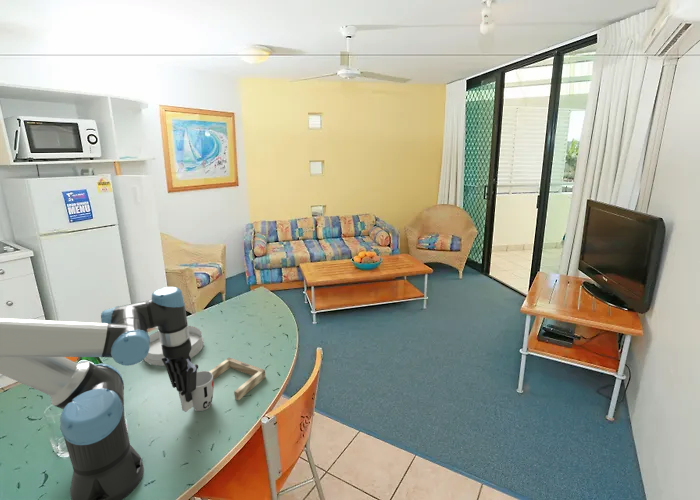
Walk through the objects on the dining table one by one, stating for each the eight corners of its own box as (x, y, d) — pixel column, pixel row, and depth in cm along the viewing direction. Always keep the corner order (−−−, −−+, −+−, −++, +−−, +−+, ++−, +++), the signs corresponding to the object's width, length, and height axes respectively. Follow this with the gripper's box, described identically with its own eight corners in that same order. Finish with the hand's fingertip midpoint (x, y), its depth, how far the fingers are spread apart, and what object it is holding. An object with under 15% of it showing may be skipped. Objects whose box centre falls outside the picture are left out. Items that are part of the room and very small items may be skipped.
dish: (166, 373, 134) (164, 361, 133) (131, 355, 145) (128, 344, 143) (215, 344, 152) (214, 333, 151) (180, 330, 163) (179, 320, 161)
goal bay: (238, 400, 120) (237, 392, 119) (201, 385, 127) (200, 377, 126) (265, 377, 131) (264, 369, 130) (229, 364, 139) (228, 357, 138)
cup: (206, 416, 113) (203, 388, 110) (183, 412, 114) (179, 385, 112) (220, 398, 121) (217, 372, 118) (198, 395, 122) (195, 369, 119)
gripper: (202, 339, 105) (212, 407, 112) (171, 329, 111) (183, 394, 118) (180, 352, 99) (192, 424, 106) (148, 341, 104) (162, 409, 112)
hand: (187, 408), depth 112 cm, fingers closed
